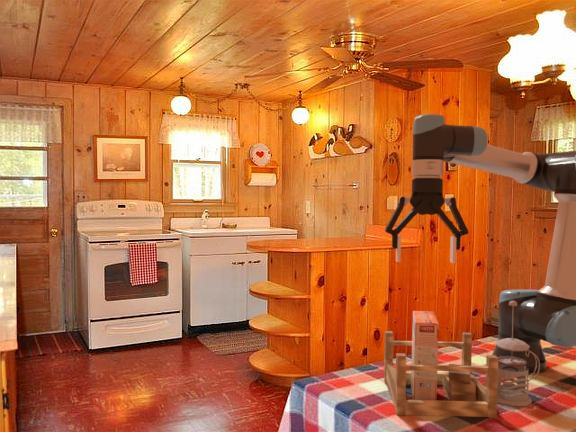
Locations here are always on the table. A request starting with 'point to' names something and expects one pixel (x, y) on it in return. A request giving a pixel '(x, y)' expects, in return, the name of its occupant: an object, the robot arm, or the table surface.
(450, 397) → the offcut
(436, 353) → the cracker box
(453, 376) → the offcut
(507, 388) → the french press
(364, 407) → the table surface
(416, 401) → the rack
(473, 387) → the offcut
